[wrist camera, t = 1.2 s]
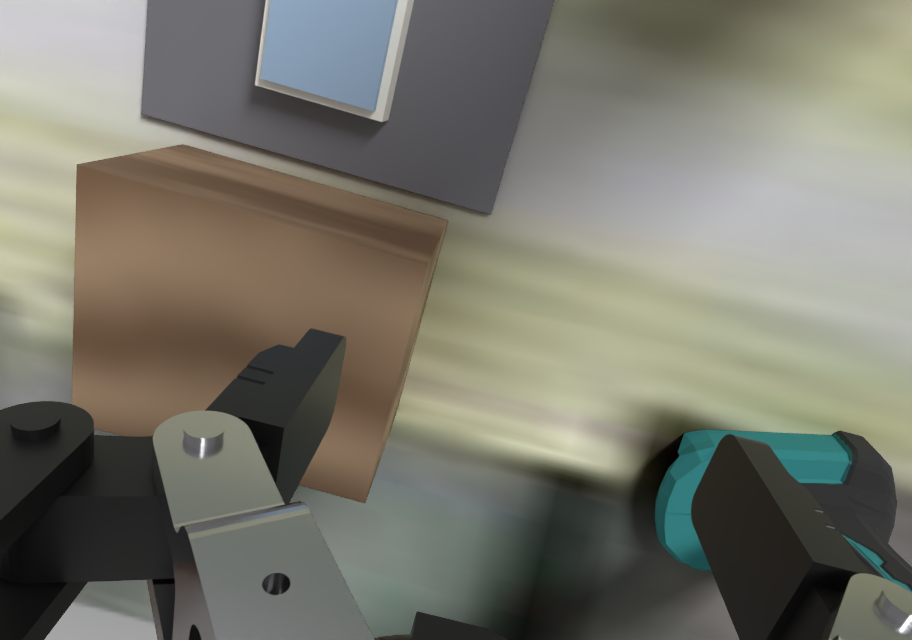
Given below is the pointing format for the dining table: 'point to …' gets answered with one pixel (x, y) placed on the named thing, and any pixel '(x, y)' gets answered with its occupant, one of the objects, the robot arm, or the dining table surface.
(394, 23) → the card box
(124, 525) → the robot arm
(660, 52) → the dining table surface
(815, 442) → the power drill
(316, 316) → the walnut block
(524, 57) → the mat
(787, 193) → the dining table surface
